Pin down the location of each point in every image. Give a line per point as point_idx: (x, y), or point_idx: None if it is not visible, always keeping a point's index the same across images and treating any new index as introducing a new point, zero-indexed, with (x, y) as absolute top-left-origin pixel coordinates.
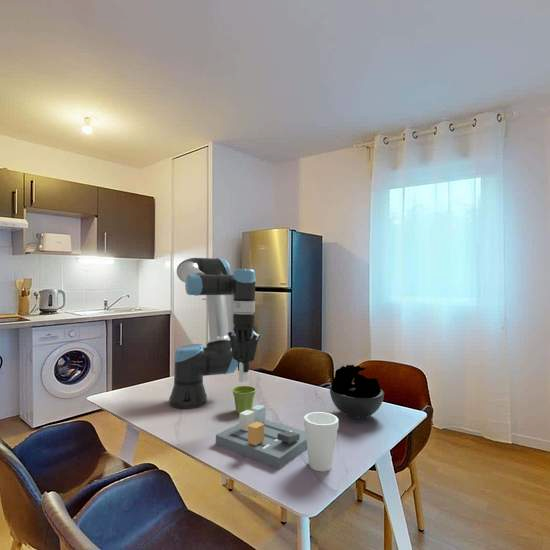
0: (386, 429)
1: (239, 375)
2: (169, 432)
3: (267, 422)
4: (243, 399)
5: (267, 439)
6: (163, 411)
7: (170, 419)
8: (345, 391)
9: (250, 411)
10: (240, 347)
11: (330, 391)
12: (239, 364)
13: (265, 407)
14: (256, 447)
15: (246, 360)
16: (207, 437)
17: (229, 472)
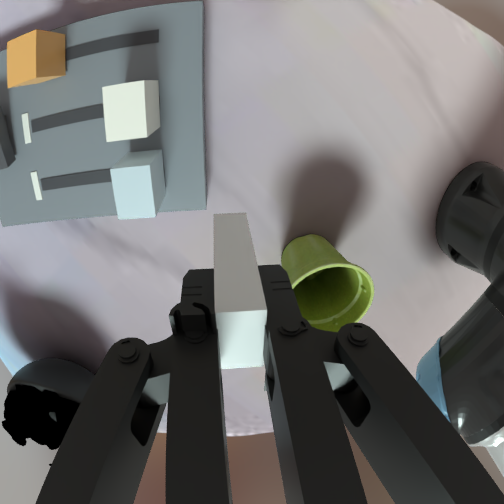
0: (10, 347)
1: (246, 235)
2: (392, 7)
3: None
4: (302, 264)
5: (44, 103)
6: (490, 126)
7: (451, 86)
8: (48, 402)
9: (121, 130)
10: (299, 494)
11: None
12: (260, 296)
13: (119, 216)
14: None
15: (173, 356)
16: (268, 28)
17: None
